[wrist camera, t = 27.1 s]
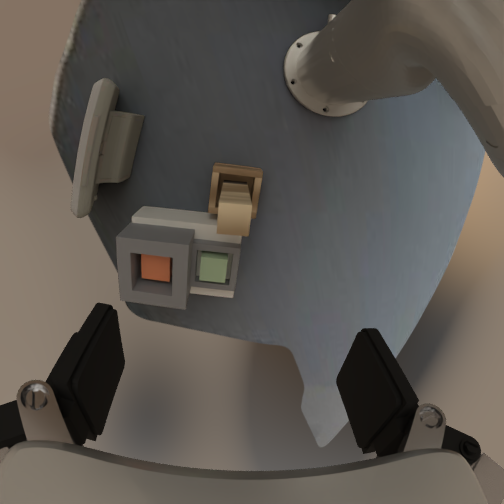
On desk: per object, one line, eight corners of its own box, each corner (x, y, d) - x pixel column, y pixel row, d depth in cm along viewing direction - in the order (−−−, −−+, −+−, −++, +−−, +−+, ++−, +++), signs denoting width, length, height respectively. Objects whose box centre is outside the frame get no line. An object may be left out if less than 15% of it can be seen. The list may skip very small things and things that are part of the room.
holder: (215, 162, 36) (213, 165, 33) (260, 168, 37) (263, 172, 34) (210, 205, 39) (207, 213, 36) (253, 211, 39) (255, 218, 36)
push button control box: (141, 205, 38) (115, 230, 29) (241, 216, 40) (244, 244, 31) (141, 268, 42) (120, 305, 33) (232, 279, 44) (232, 320, 35)
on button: (202, 250, 36) (201, 256, 34) (228, 252, 36) (227, 259, 34) (200, 272, 37) (199, 280, 35) (225, 275, 38) (224, 283, 36)
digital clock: (112, 79, 30) (75, 67, 21) (166, 100, 33) (141, 91, 23) (71, 182, 36) (30, 201, 26) (119, 206, 38) (86, 232, 28)
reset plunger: (144, 246, 34) (141, 251, 32) (172, 249, 34) (170, 255, 33) (144, 272, 35) (141, 278, 34) (171, 275, 36) (169, 281, 34)
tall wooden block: (223, 179, 36) (218, 202, 26) (246, 181, 37) (252, 205, 26) (221, 202, 38) (216, 233, 27) (244, 203, 38) (248, 236, 27)
